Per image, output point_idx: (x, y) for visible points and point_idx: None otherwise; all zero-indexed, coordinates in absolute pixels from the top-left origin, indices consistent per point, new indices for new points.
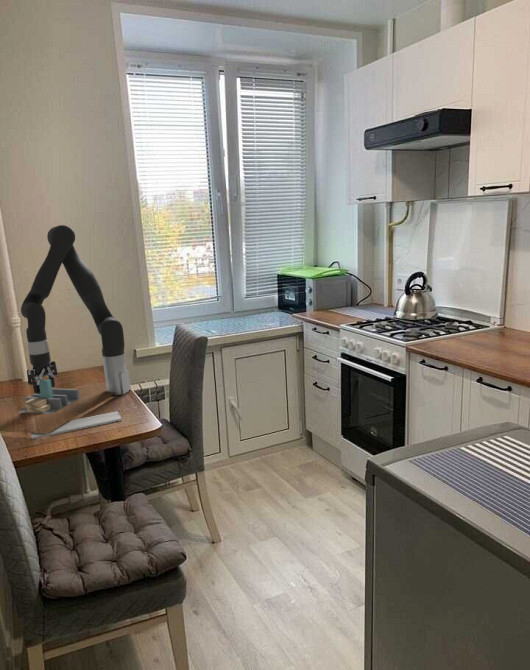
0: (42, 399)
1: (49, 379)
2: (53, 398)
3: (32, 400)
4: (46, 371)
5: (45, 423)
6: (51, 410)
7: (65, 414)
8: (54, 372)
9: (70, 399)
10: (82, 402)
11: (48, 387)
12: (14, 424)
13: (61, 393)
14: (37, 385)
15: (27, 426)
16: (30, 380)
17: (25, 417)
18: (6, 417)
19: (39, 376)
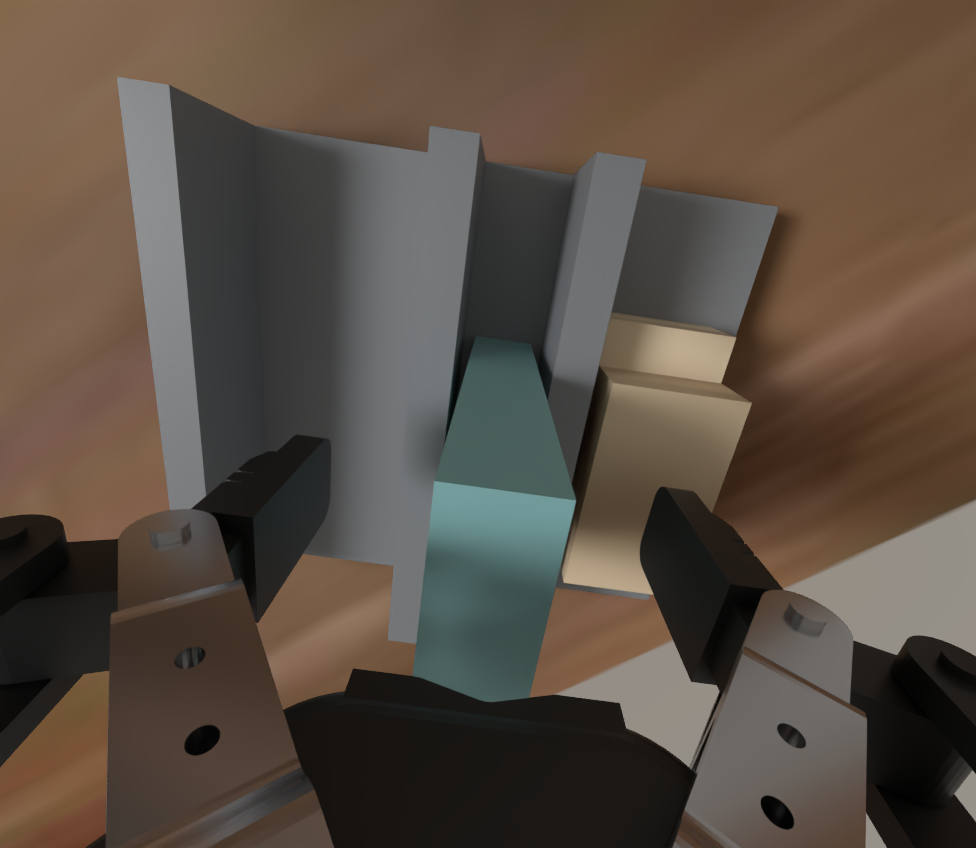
0: (611, 435)
1: (434, 510)
2: (586, 288)
3: (634, 541)
4: (353, 816)
5: (928, 181)
6: (650, 273)
7: (671, 77)
8: (6, 605)
9: (274, 237)
10: (257, 78)
11: (546, 427)
12: (855, 495)
13: (228, 382)
14: (758, 597)
15: (956, 344)
16: (924, 837)
17: None
18: (664, 638)
19: (853, 774)
